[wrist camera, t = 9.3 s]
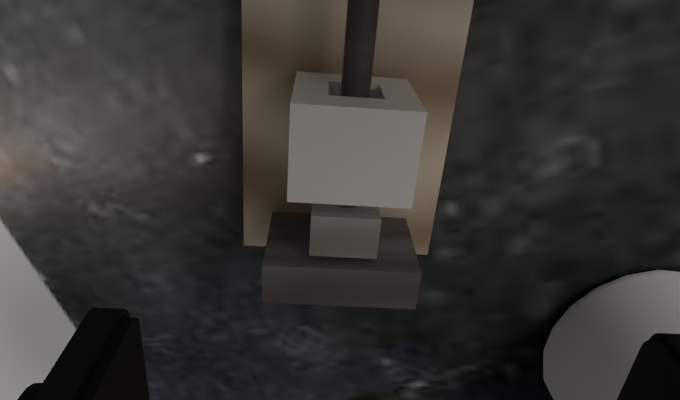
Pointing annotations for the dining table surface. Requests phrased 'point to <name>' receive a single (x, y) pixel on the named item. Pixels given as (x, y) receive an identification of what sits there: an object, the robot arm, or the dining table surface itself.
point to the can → (609, 334)
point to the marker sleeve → (354, 142)
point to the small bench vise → (357, 71)
